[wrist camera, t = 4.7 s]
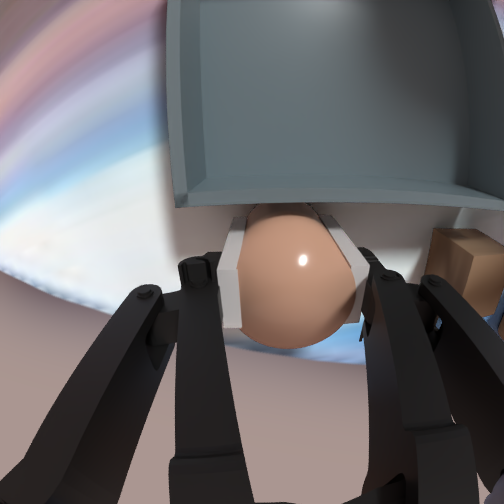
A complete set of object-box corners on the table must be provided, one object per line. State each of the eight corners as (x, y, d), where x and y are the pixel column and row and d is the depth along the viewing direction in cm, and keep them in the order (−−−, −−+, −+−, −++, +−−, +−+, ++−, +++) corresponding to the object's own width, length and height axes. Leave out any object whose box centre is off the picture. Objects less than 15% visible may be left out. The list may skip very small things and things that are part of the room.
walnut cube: (432, 228, 16) (474, 256, 12) (475, 228, 16) (514, 253, 12) (420, 288, 18) (451, 325, 14) (461, 282, 18) (493, 314, 14)
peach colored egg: (240, 197, 16) (221, 240, 9) (325, 197, 15) (364, 239, 9) (243, 273, 18) (231, 348, 11) (320, 272, 17) (345, 346, 11)
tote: (194, -42, 9) (177, -80, 4) (446, -6, 8) (480, -23, 4) (199, 187, 16) (175, 207, 11) (467, 192, 15) (511, 211, 10)
